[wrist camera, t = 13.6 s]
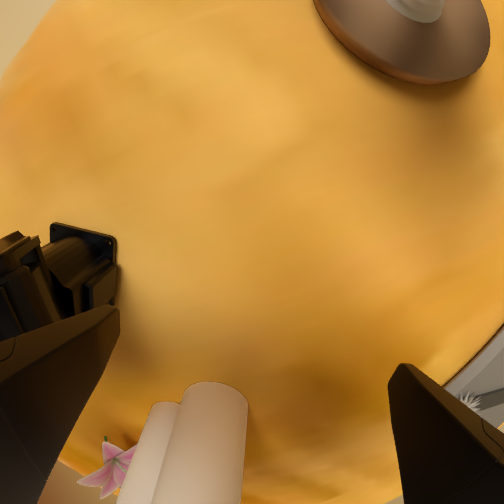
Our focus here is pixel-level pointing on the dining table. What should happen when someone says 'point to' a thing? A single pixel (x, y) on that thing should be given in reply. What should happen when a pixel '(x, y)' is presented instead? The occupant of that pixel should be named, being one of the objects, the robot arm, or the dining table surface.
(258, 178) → the dining table surface
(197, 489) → the vase
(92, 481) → the lily
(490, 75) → the dining table surface
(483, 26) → the walnut pedestal
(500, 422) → the decorative plate
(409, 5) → the chalice
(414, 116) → the dining table surface
